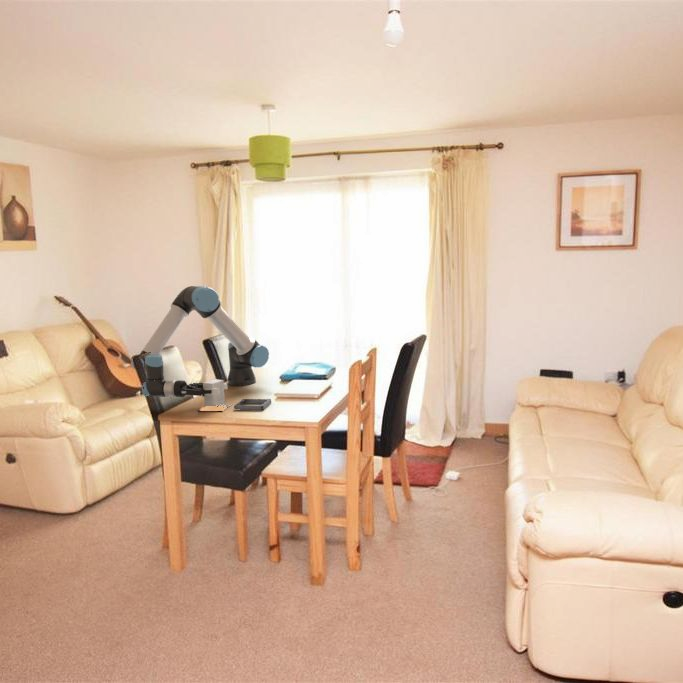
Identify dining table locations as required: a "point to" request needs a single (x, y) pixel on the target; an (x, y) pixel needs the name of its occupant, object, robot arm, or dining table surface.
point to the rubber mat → (224, 404)
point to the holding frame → (264, 403)
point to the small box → (214, 399)
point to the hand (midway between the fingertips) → (223, 388)
